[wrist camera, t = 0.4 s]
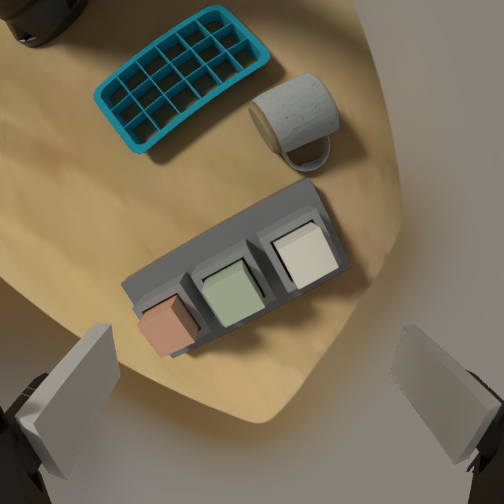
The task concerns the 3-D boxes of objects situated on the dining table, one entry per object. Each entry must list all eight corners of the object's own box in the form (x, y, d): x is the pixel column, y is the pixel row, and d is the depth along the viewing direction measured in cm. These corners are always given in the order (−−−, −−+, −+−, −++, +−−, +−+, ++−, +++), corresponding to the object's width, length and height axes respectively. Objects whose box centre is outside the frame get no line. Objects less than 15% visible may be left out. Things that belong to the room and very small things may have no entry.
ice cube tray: (99, 99, 32) (89, 94, 29) (219, 12, 30) (218, 1, 27) (144, 160, 34) (137, 158, 32) (272, 66, 32) (275, 57, 30)
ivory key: (272, 240, 31) (277, 250, 27) (308, 220, 31) (319, 226, 27) (290, 275, 32) (298, 289, 28) (325, 256, 32) (338, 267, 28)
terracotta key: (148, 308, 32) (136, 325, 28) (178, 291, 32) (170, 307, 28) (169, 337, 33) (161, 358, 29) (199, 322, 33) (194, 342, 29)
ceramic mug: (242, 110, 33) (244, 93, 26) (299, 83, 33) (314, 62, 25) (285, 184, 36) (298, 185, 28) (340, 154, 35) (365, 149, 28)
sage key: (206, 276, 32) (201, 290, 28) (241, 257, 32) (242, 268, 27) (226, 309, 33) (225, 327, 29) (261, 291, 33) (265, 307, 28)
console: (128, 276, 37) (108, 295, 30) (303, 177, 36) (318, 176, 29) (176, 347, 40) (166, 375, 33) (343, 260, 38) (364, 276, 31)
